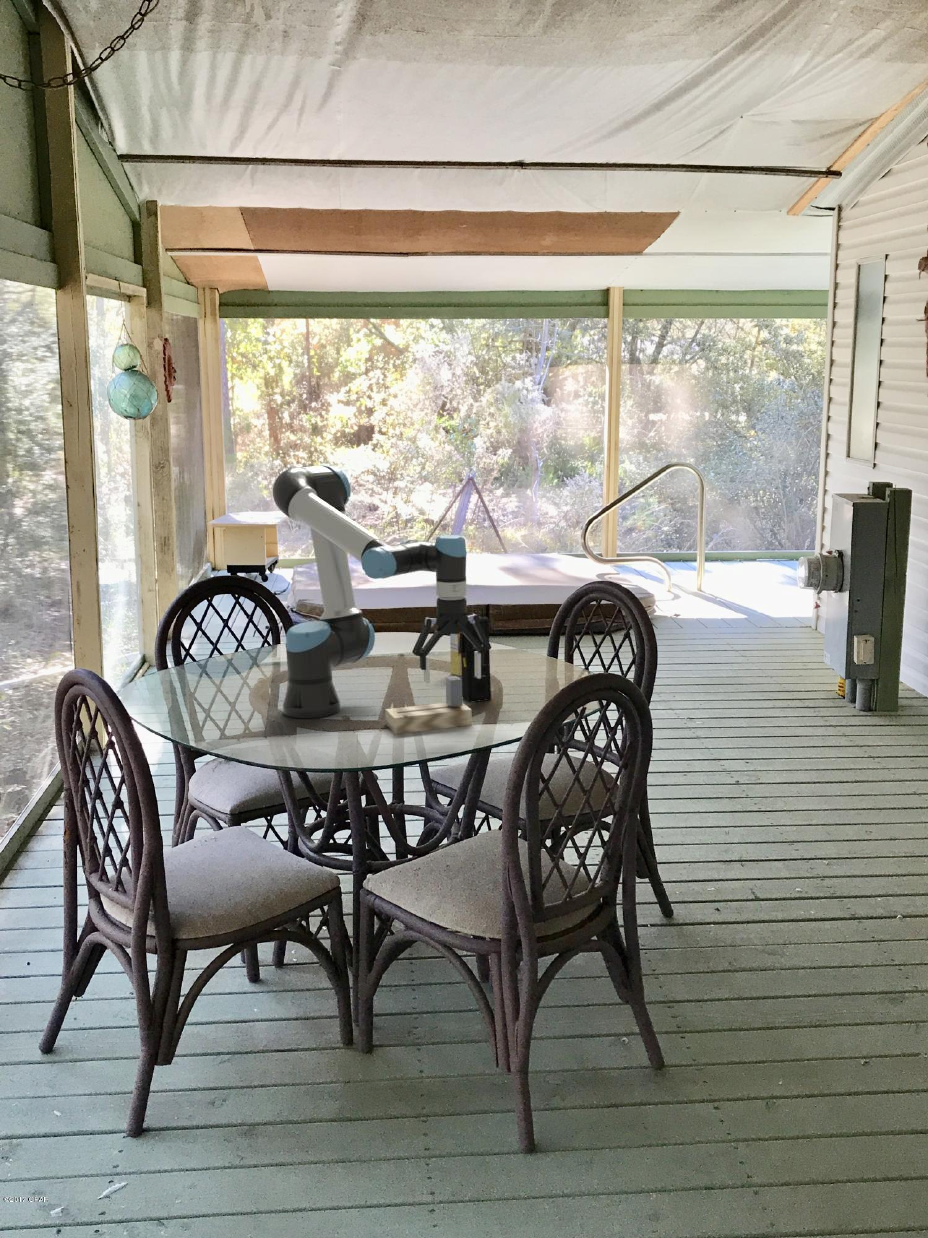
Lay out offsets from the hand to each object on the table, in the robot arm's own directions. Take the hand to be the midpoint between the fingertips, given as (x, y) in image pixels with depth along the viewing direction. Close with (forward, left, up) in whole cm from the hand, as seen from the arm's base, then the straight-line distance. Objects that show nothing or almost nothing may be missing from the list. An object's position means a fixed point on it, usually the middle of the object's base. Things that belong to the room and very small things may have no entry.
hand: (452, 679), depth 292 cm
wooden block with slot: (-7, 0, -11) cm, 13 cm away
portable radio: (+12, +19, -11) cm, 25 cm away
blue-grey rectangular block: (0, 0, -6) cm, 7 cm away
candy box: (+20, +50, -11) cm, 55 cm away
